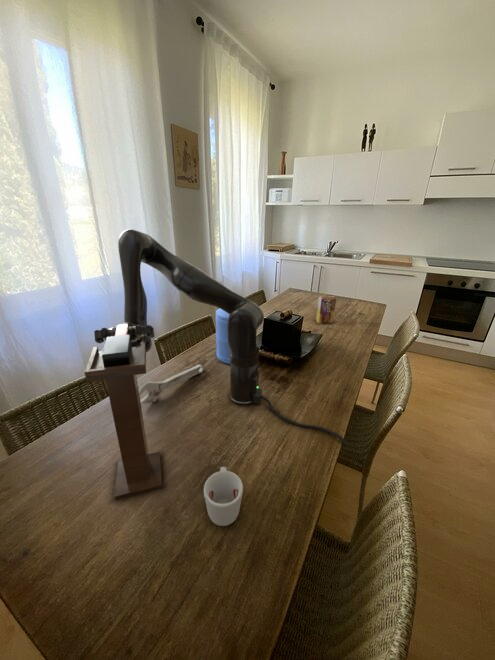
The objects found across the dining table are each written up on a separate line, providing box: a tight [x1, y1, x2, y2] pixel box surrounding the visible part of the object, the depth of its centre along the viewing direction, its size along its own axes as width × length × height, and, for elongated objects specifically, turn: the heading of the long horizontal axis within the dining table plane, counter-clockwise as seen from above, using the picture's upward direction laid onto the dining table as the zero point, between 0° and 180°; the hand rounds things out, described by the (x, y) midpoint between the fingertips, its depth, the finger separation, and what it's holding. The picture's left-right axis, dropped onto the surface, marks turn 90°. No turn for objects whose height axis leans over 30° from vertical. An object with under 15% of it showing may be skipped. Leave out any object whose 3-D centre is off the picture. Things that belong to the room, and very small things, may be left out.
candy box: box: [315, 295, 337, 324], centre depth 161 cm, size 9×4×15 cm, turn 99°
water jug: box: [215, 293, 240, 365], centre depth 117 cm, size 16×16×28 cm
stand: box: [83, 342, 163, 500], centre depth 61 cm, size 10×10×33 cm
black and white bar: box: [102, 323, 132, 368], centre depth 59 cm, size 18×4×3 cm, turn 19°
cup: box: [203, 466, 244, 527], centre depth 60 cm, size 11×8×8 cm
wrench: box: [138, 364, 205, 404], centre depth 99 cm, size 8×2×30 cm
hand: (120, 330), depth 63 cm, fingers open, 6 cm apart
